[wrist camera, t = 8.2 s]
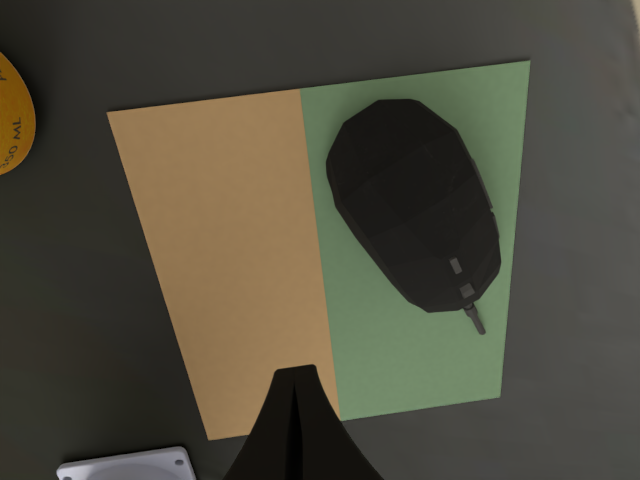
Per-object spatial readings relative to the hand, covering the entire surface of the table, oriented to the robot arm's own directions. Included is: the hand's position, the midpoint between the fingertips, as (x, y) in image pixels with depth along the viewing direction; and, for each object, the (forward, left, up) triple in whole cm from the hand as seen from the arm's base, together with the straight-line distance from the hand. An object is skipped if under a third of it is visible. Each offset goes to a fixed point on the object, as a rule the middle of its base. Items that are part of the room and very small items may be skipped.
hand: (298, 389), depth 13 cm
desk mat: (-1, -3, -8) cm, 9 cm away
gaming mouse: (+1, -7, -8) cm, 11 cm away
